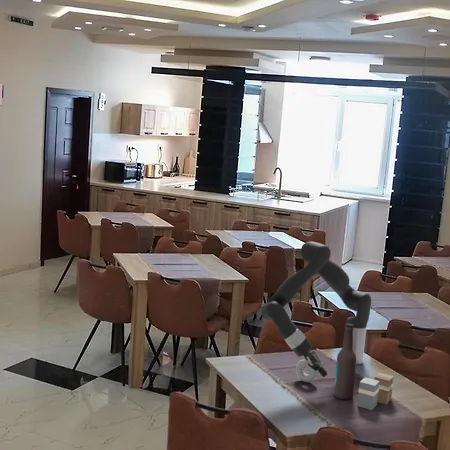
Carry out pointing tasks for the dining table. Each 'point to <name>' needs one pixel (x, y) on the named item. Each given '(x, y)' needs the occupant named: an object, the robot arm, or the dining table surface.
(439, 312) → the dining table surface
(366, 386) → the slate block
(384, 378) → the tan block
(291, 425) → the dining table surface
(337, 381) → the beer bottle
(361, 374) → the dining table surface
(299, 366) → the donut
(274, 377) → the dining table surface
